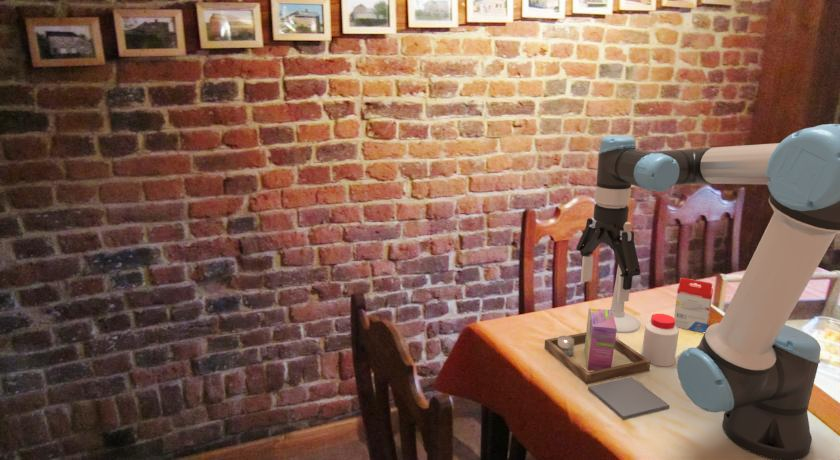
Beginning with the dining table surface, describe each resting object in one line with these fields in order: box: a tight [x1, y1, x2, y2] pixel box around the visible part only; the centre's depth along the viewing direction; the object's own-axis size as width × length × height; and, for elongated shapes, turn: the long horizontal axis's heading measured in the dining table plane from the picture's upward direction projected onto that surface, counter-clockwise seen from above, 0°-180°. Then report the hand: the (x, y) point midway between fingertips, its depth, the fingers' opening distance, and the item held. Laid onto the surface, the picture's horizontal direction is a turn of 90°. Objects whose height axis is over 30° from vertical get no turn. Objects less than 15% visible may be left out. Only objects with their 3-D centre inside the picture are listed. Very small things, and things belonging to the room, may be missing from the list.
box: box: [583, 307, 617, 371], centre depth 141 cm, size 10×6×12 cm, turn 168°
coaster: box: [587, 376, 670, 421], centre depth 127 cm, size 12×12×1 cm
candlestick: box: [610, 221, 641, 334], centre depth 159 cm, size 13×13×30 cm
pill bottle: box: [640, 313, 680, 367], centre depth 142 cm, size 8×8×11 cm
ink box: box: [673, 277, 714, 333], centre depth 159 cm, size 8×5×15 cm, turn 58°
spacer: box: [557, 335, 575, 358], centre depth 146 cm, size 4×4×4 cm
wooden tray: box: [544, 332, 652, 385], centre depth 143 cm, size 18×18×2 cm
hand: (603, 290), depth 138 cm, fingers open, 13 cm apart
